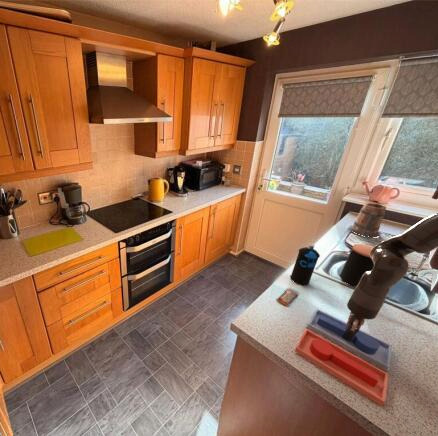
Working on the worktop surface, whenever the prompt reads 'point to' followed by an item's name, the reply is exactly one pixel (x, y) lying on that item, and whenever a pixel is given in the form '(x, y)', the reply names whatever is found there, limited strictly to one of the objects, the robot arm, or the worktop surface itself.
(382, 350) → the blue tray
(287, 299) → the chocolate bar
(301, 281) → the aerosol can
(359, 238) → the worktop surface
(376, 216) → the tankard
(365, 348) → the blue spoon
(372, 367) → the red tray
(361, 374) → the red spoon
